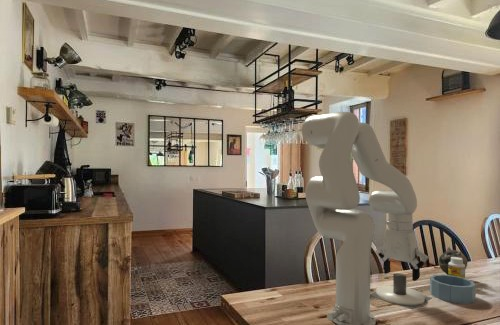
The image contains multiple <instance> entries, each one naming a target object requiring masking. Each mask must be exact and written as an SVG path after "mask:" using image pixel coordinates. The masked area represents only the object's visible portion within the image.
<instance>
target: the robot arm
mask: <svg viewBox="0 0 500 325" xmlns="http://www.w3.org/2000/svg"><path fill="white" fill-rule="evenodd" d="M301 135H302V137H303V140H305V142H306V143H308V144H309V145H311V146H313V147H316V148H320V149H322V152H321V154H320V157H319V160H318V167H319V171H320V175H317V176H316V175H315V176H313V177H311V178H310V179H309V180H308V182H307V183H306V186H305V200H306V203H307V207H308V210H309V212H310V215H311V218H312V221H313V224H314V226H315V229H316V231H317V233H319V234H320V236H322V237H324V238H327V239H332V240H336V241H341V242H343V243H342V245H341V247H339V248H338V251H337V253H336V257H335V304H334V308H333V309H332V310H331V311H330V312H329V313H327V314H326V318H327V320H328V321H332V322H333V323H335V324H336V325H376V323H377V318H376V317H375V315H374V314H373V313H371V296H370V294H371V258H372V257H371V252H372V243H373V239H374V234H375V220H374V218H373V217H372V215H371V214H369V213H368V212H366V211H365V210H364V211H362V210H360V209H355V208H357V207H358V206H359V203H360V201H361V200H360V198H361V197H360V190H359V187H358V184H357V180H356V177H355V173H354V170H353V166H352V162H351V156H352V158H353V160H354V163H355V164H356V166H357V168H358V170H359V172H360V174H361V175H362V176H364V177H365V178H367V179H370V180H372V181H374V182H375V183H379V184H381V185H384V186H386V187H387V188H389V189H379V190H375V191H373V192H372V193H370V196H369V198H368V204H369V206H370V208H371V209H372V211H375V212H377V213H380V214H381V213H383V214H388V216H387V217H388V219H387V220H385V221H384V224H385V225H387V227H388V228H386V229H385V232H384V239H383V244H382V245H379V246H376V248H375V249H376V251H377V254H378V257H380V259H381V261H382V264H383V268H382V269H383V273H384V274H385V275H387V274H389V273H391V260H395V261H398V262H405V263H410V265H411V266H412V267H413V268H412V269H411V272H412V273H411V274H412V277H411V278H412V281H413V282H416V281H418V280H419V279H420V276H421V271H420V270H421V267H423V266H424V265H425V264H426V262H427V261H428V260H429V256H428V255H427V254H425V253H423V251H420V249H418V241H417V236H416V232H415V230H414V223H413V214H414V213H415V211H416V210H417V207H418V200H417V196H416V191H415V190H414V187H413V185H412V182H411V181H410V180H409V178H408V176H406V175H405V174H404V173H403V172H401V171H400V170H399V169H398V168H396V167H395V166H393V165H392V164H391V163H389V162H388V161H387V159H386V157H385V154H384V152H383V149H382V148H381V147H382V146H381V144H380V142H379V139H378V137H377V134H376V133H375V130H374V128H373V127H372V126H371V124H369V123H366V122H360V121H359V118H358V116H357V115H356V113H353V112H350V111H338V112H337V111H336V112H331V113H324V114H318V115H311V116H309V117H308V118H306V119H305V120H304V121H303V123H302V125H301ZM418 257H420V258H421V259H420V261H419V260H418Z"/></svg>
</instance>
